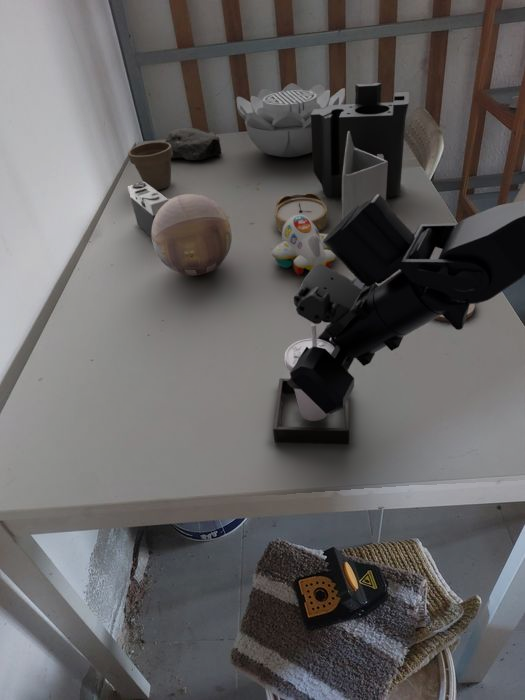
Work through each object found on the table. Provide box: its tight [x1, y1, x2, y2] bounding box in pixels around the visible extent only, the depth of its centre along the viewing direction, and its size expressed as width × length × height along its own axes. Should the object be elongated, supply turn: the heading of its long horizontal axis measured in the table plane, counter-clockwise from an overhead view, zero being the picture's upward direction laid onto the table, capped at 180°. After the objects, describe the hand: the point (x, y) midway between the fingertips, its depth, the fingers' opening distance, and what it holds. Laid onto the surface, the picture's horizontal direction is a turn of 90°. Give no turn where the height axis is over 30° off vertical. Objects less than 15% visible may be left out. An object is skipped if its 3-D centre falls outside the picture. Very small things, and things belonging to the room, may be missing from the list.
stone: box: [165, 127, 222, 161], centre depth 153 cm, size 18×9×10 cm
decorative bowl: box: [236, 82, 346, 158], centre depth 146 cm, size 30×30×15 cm
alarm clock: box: [274, 192, 328, 233], centre depth 114 cm, size 11×5×15 cm
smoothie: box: [284, 322, 335, 422], centre depth 64 cm, size 6×6×14 cm
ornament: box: [151, 193, 233, 277], centre depth 98 cm, size 15×15×15 cm
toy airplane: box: [271, 215, 337, 275], centre depth 98 cm, size 13×9×15 cm
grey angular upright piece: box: [341, 131, 388, 221], centre depth 104 cm, size 16×8×19 cm, turn 166°
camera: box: [127, 181, 171, 239], centre depth 115 cm, size 14×8×10 cm, turn 32°
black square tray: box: [272, 378, 350, 445], centre depth 68 cm, size 9×9×2 cm
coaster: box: [434, 304, 476, 323], centre depth 85 cm, size 8×8×1 cm
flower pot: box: [127, 141, 173, 191], centre depth 137 cm, size 12×11×10 cm
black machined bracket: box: [311, 82, 410, 199], centre depth 118 cm, size 12×21×22 cm, turn 77°
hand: (301, 367), depth 64 cm, fingers closed on smoothie, 6 cm apart
